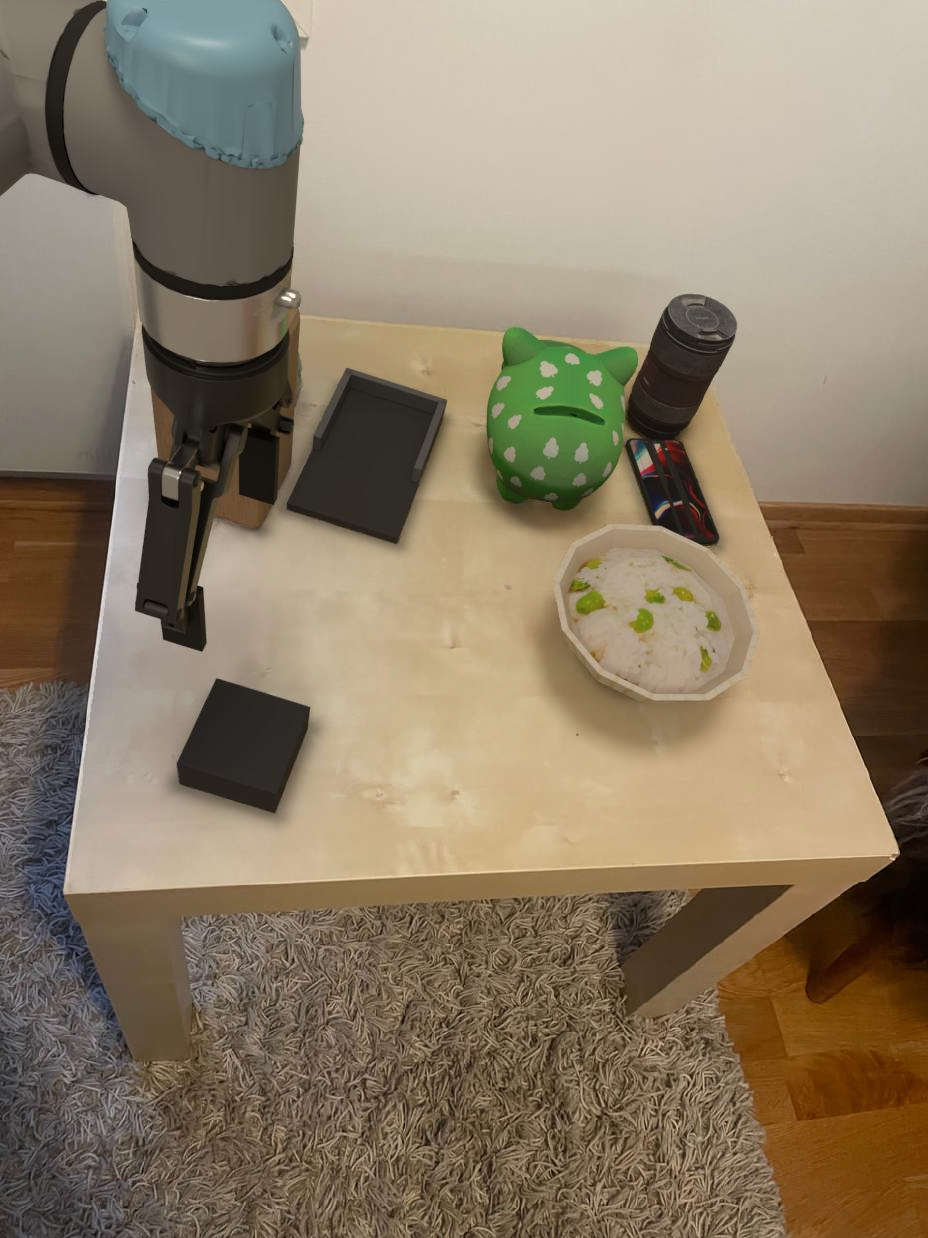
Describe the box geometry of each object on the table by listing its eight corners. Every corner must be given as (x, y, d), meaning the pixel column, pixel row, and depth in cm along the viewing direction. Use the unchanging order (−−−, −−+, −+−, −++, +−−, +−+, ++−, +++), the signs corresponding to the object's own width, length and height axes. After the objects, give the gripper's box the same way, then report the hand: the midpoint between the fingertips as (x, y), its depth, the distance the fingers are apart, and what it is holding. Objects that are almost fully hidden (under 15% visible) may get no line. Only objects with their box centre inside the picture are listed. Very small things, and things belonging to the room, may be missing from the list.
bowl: (496, 596, 90) (521, 533, 82) (662, 561, 97) (701, 500, 89) (577, 773, 82) (614, 721, 73) (753, 721, 88) (805, 668, 80)
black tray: (396, 544, 92) (401, 525, 89) (286, 509, 91) (287, 489, 89) (442, 419, 102) (447, 399, 100) (343, 387, 102) (346, 366, 100)
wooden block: (158, 503, 89) (139, 337, 72) (200, 433, 94) (191, 265, 78) (258, 534, 89) (262, 377, 73) (294, 463, 95) (304, 302, 78)
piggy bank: (593, 418, 107) (638, 313, 95) (603, 541, 97) (655, 441, 85) (472, 398, 105) (503, 288, 93) (470, 522, 95) (504, 416, 83)
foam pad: (179, 784, 74) (176, 763, 71) (217, 700, 79) (216, 677, 75) (275, 813, 74) (276, 794, 71) (307, 728, 79) (310, 706, 76)
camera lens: (609, 400, 110) (654, 292, 98) (668, 395, 112) (718, 289, 100) (637, 449, 105) (687, 342, 94) (697, 442, 108) (753, 338, 96)
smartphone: (662, 542, 98) (624, 437, 105) (659, 546, 98) (622, 441, 106) (722, 541, 100) (682, 438, 107) (720, 545, 100) (679, 442, 108)
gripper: (190, 516, 41) (206, 731, 58) (356, 216, 55) (329, 459, 73) (26, 465, 41) (91, 695, 58) (236, 176, 55) (237, 430, 72)
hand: (223, 564), depth 65 cm, fingers open, 13 cm apart
